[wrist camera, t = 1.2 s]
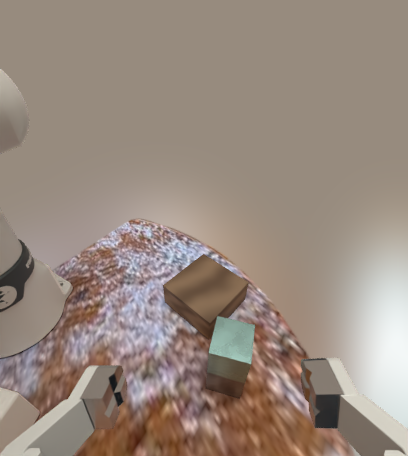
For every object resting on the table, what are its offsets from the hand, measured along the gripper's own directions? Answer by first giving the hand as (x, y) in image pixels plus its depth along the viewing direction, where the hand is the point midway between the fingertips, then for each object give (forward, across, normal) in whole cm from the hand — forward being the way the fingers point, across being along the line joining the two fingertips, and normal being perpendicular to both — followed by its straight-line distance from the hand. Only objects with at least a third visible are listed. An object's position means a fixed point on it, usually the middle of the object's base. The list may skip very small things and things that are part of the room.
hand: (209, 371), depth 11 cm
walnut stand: (+32, +5, +19) cm, 37 cm away
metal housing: (+20, +1, +24) cm, 31 cm away
